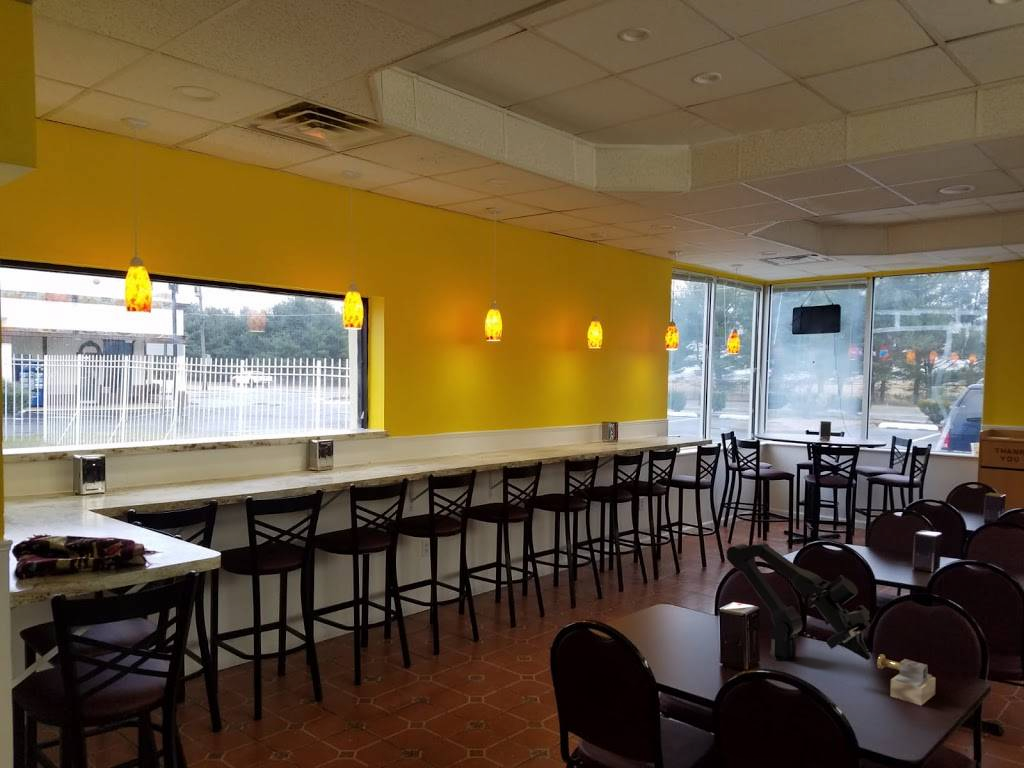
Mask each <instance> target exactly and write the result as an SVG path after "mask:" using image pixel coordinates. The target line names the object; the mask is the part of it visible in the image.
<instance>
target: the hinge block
mask: <svg viewBox="0 0 1024 768" xmlns="http://www.w3.org/2000/svg"><path fill="white" fill-rule="evenodd" d="M899 663H900V670H899V673H898V674H897V675H895V676H894V677H892V678H891V679H890V697H892V698H894V699H898V698H899V700H902V701H905V702H908V703H911V704H915V705H918V706H923V705H924V704H925V703H926V702H927V701H928V700H930V699H932V697H933V696H935V695H936V677H934V676H932V674H930V673H928V666H929V665H928V664H926V663H921V662H918V661H914V660H911V659H906V658H904V659H903V660H901V661H900V662H899Z"/></svg>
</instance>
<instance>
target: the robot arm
mask: <svg viewBox="0 0 1024 768" xmlns="http://www.w3.org/2000/svg"><path fill="white" fill-rule="evenodd" d="M725 557H726V559H727V561H728V562H729V563H730V564H731V565H732V566H733V568H734V569H735V570H736V569H737V570H738V571H739V572H741V573H742V574H743V575H744V576H745V577H746V579H747V580H748V582H749V583H750V584H751V586H752V587H753V589H754V591H756V593H757V595H758V597H760V599H761V600H762V602H763V603H764V604H765V606H766V608H768V610H769V612H770V615H771V621H772V623H773V625H774V627H773V628H771V629H770V630H768V632H767V634H768V636H769V639H770V640H771V644H770V645H771V646H770V647H771V649H770V650H769V654H770V655H771V656H772V657H773V658H774V659H775V660H776V661H797V658H796V655H797V643H796V642H795V641H796V640H795V638H794V637H796V636H797V635H798V633H799V632H801V631H802V629H803V625H804V624H803V621H802V619H801V618H802V615H800V614H799V613H798V611H797V610H796V607H794V606H793V605H791V606H787V605H786V604H784V603H783V601H782V600H781V599H780V597H779V596H778V594H777V593H776V591H775V590H774V589H773V586H772V585H770V583H769V582H768V580H767V579H766V578H765V576H764V575H763V573H762V571H761V570H760V569H759V568H758V566H757V562H756V557H758V558H760V559H761V560H763V561H764V562H765V563H767V564H768V565H769V566H771V567H772V568H774V569H775V570H776V571H778V572H779V573H780V574H782V575H784V577H786V578H787V579H789V580H790V581H791V584H792V585H793V587H794V588H795V589H796V590H797V591H798V592H799V593H800V594H802V595H803V596H805V597H809V598H808V603H807V608H808V609H811V608H813V607H815V608H817V610H818V611H819V613H820V614H821V615H822V616H823V618H824V619H825V621H824V623H825V625H826V626H828V625H829V626H830V627H831V628H832V629H833V630H834V632H835V633H834V634H832V635H831V636H829V637H828V638H827V639H826V645H827V646H828V647H829V649H830V650H832V649H834V648H836V647H837V646H838V645H839V644H841V643H842V644H841V645H840V647H841V648H845V649H847V650H849V651H850V652H852V653H854V654H856V655H858V656H859V657H861V658H862V659H865V660H866V661H869V660H870V659H871V657H872V656H871V654H870V653H869V650H868V647H867V646H866V645H867V644H866V643H865V640H864V635H865V632H866V631H865V630H866V629H868V628H869V627H870V626H871V625H872V624H871V623H870V622H869V621H870V620H871V617H870V611H869V610H868V608H866V607H865V606H864V605H862V604H861V605H858V606H856V607H855V610H853V611H851V612H849V610H848V609H846V608H844V609H842V607H841V606H840V605H844V604H846V603H847V602H848V601H850V600H851V599H852V598H854V597H855V596H856V595H858V594H859V590H858V587H857V586H856V584H855V583H854V582H852V580H850V579H848V578H846V577H844V575H843V574H841V575H839V576H837V577H836V578H835V579H834V580H833V581H832V582H830V581H828V580H825V579H823V578H822V577H821V576H820V575H819V574H816V573H815V572H814V573H813V572H812V571H809V570H807V569H803V568H801V567H799V566H797V565H796V564H794V563H793V562H792V561H790V559H787V558H786V557H785V556H783V555H782V554H780V553H779V552H778V551H776V550H775V549H773V548H772V547H771V546H770V545H769V544H768V543H766V542H760V543H757V544H750V545H747V544H745V543H740V544H736V545H733V546H729V547H728V548H727V550H726V554H725ZM824 592H826V593H825V594H824ZM817 594H818V595H817ZM815 595H816V596H815ZM812 596H815V597H812ZM839 604H840V605H839Z"/></svg>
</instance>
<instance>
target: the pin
mask: <svg viewBox="0 0 1024 768" xmlns="http://www.w3.org/2000/svg"><path fill="white" fill-rule="evenodd" d="M876 660H877V661H876V665H877V668H878V669H881V670H883V669H884V668H885V667H886V668H891V669H894V670H897V671H900V662H898V661H894V660H891V659H887V658H886V656H885V654H883V653H880V654H878V656H877V659H876Z"/></svg>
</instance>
